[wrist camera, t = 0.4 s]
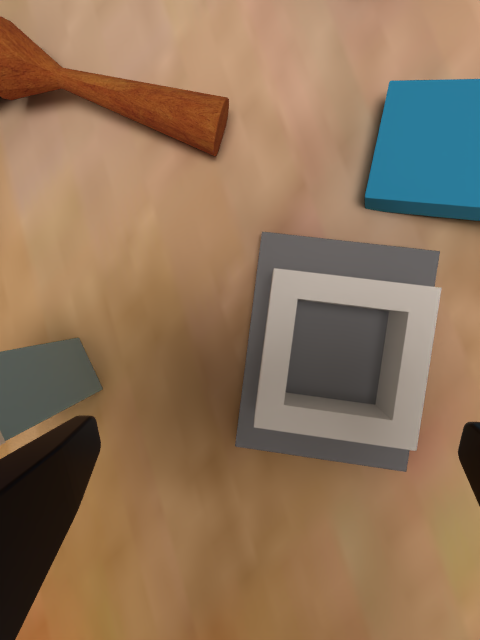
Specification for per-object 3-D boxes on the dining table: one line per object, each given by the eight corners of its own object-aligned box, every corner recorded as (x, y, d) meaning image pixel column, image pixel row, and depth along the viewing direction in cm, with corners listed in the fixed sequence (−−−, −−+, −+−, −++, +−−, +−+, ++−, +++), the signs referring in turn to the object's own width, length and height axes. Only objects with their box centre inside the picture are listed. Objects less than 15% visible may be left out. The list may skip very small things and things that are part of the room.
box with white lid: (103, 389, 25) (-23, 457, 14) (53, 412, 25) (-109, 496, 14) (79, 336, 25) (-68, 362, 14) (28, 360, 25) (-153, 404, 14)
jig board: (399, 463, 24) (428, 497, 19) (236, 439, 24) (230, 467, 20) (430, 254, 23) (468, 243, 19) (262, 235, 24) (261, 220, 19)
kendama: (201, 169, 20) (-149, 61, 19) (214, 183, 26) (-56, 99, 25) (231, 51, 18) (-148, -70, 18) (237, 94, 24) (-49, 3, 24)
